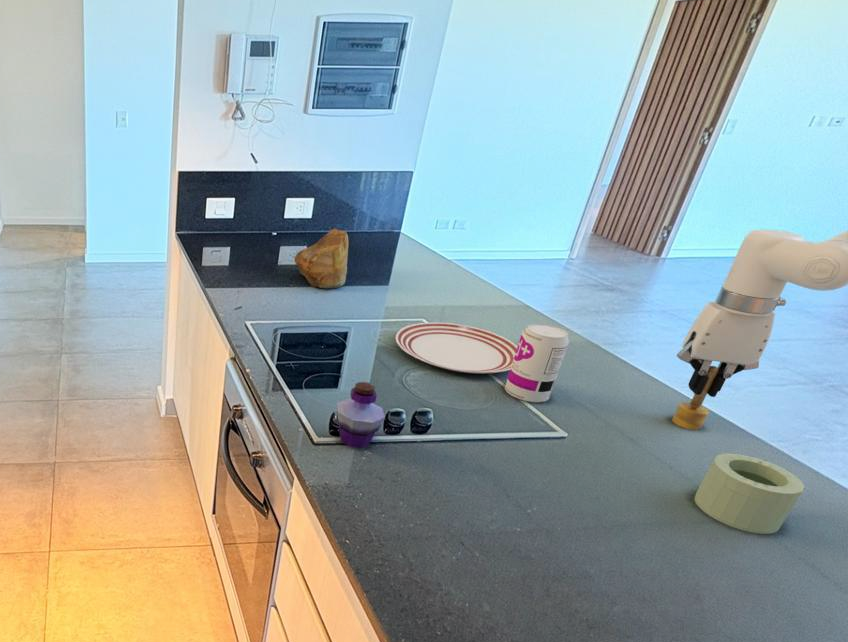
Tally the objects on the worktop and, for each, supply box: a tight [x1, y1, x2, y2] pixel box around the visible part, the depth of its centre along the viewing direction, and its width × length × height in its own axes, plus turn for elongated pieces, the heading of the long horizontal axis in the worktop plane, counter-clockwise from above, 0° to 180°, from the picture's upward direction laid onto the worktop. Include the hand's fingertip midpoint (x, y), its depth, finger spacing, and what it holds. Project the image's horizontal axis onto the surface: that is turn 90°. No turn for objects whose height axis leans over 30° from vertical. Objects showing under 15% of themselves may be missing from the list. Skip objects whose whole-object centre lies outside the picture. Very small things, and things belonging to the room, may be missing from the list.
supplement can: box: [504, 323, 570, 403], centre depth 127 cm, size 8×8×15 cm
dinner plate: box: [395, 321, 518, 375], centre depth 147 cm, size 28×27×3 cm
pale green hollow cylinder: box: [694, 453, 805, 535], centre depth 95 cm, size 10×10×8 cm
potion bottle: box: [336, 381, 386, 449], centre depth 112 cm, size 9×9×12 cm
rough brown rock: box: [294, 228, 349, 290], centre depth 195 cm, size 23×17×15 cm
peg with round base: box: [671, 365, 718, 431], centre depth 117 cm, size 4×4×13 cm
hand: (701, 391), depth 116 cm, fingers closed on peg with round base, 1 cm apart
